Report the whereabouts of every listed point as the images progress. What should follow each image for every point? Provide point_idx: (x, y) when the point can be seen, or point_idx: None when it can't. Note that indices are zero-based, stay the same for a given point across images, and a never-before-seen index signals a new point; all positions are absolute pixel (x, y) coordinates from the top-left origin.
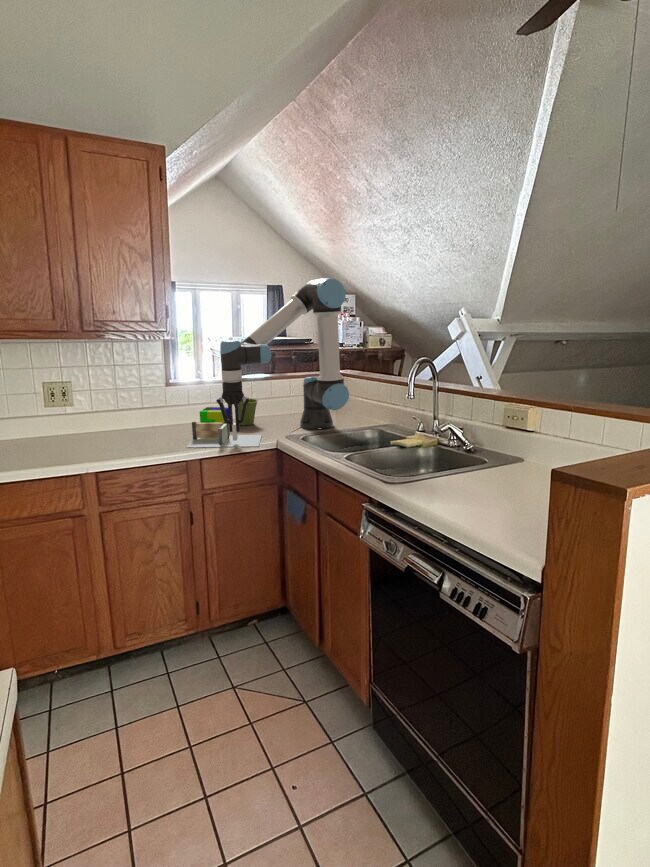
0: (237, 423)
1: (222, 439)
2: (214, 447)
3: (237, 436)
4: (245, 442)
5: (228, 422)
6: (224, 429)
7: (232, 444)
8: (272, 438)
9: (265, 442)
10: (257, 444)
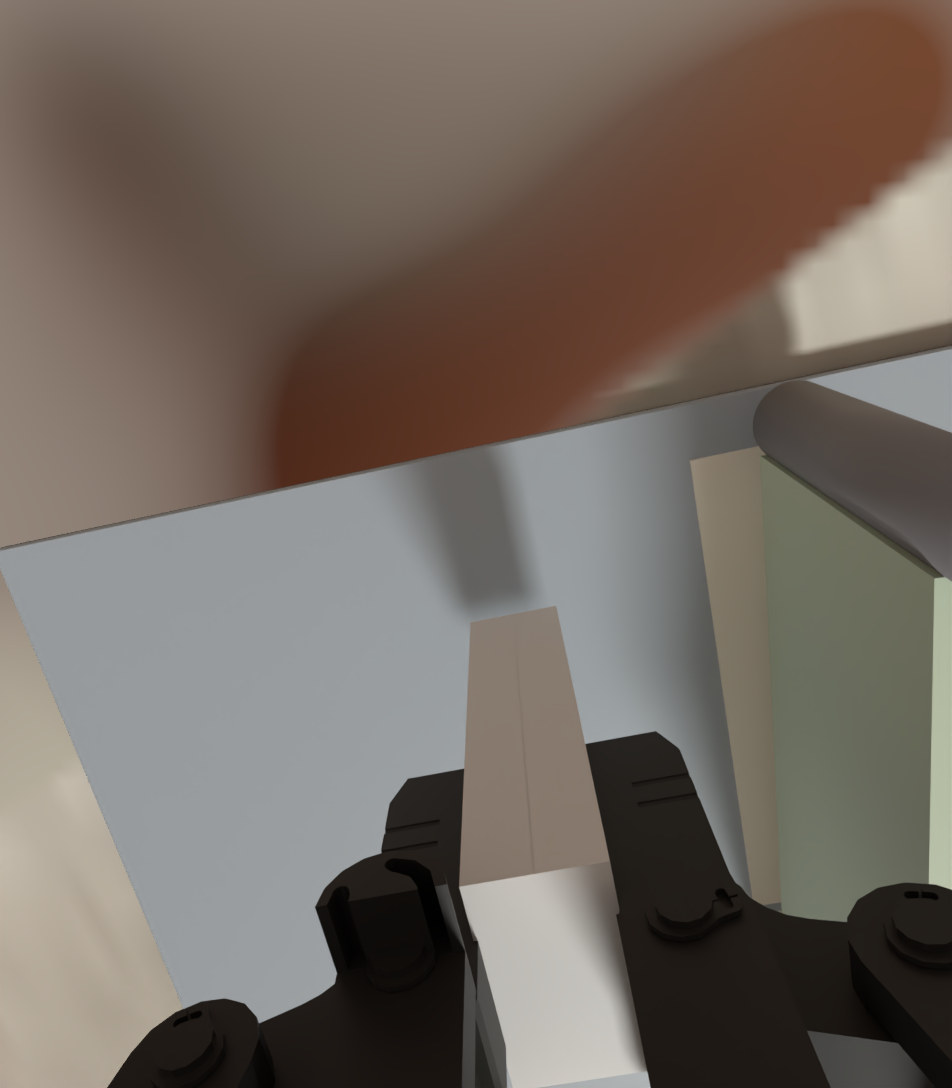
0: (360, 887)
1: (797, 504)
2: (909, 356)
3: (649, 1086)
4: (362, 761)
5: (794, 946)
6: (884, 879)
7: (570, 588)
8: (23, 1076)
9: (22, 848)
10: (70, 663)
